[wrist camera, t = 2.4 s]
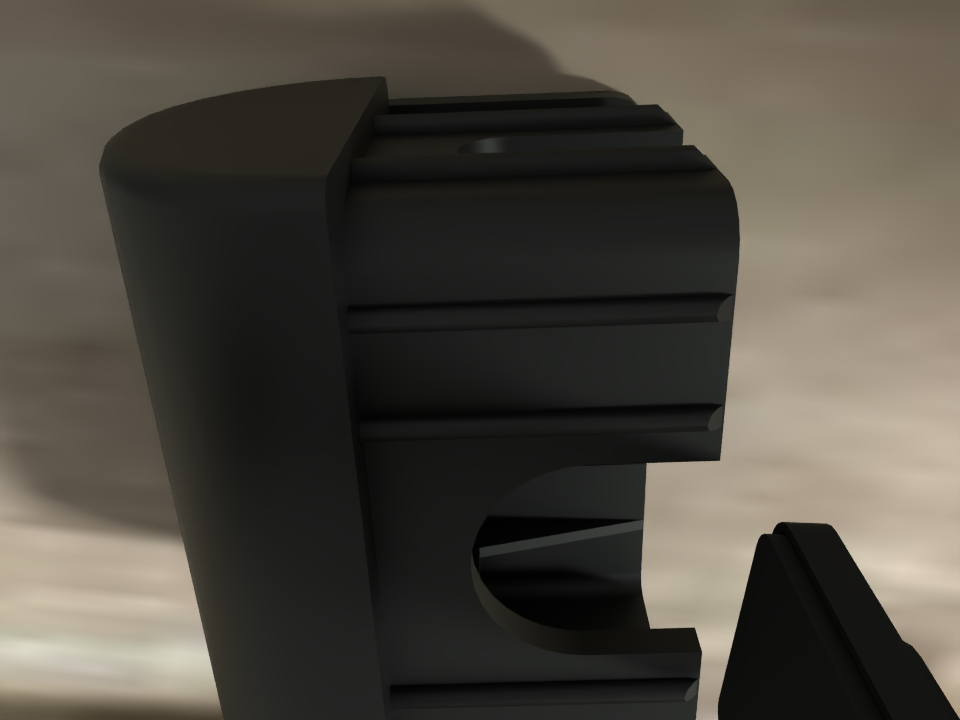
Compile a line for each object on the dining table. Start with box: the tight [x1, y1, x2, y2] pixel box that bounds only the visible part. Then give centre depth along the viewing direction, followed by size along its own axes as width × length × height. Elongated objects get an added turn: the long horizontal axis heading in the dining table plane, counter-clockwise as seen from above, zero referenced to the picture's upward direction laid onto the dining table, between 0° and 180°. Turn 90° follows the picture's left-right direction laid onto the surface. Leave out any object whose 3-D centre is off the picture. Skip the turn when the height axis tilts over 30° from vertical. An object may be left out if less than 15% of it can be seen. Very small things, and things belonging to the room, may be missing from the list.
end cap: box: [99, 76, 740, 720], centre depth 14 cm, size 10×7×7 cm
